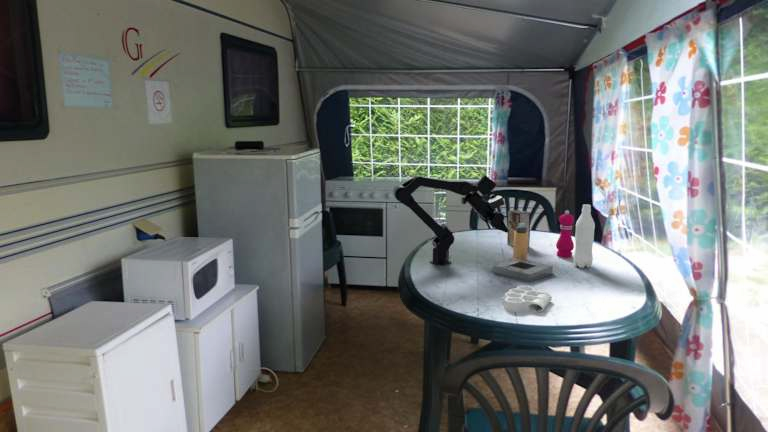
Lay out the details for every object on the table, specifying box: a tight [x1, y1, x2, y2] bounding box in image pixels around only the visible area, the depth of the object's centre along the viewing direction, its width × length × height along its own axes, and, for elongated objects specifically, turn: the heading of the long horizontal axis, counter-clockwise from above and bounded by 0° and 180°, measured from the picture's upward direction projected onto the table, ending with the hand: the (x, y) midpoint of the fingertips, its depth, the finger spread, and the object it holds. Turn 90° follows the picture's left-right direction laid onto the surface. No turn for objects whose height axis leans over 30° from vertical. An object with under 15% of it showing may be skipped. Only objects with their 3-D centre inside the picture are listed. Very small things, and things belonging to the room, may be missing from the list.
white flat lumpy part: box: [499, 285, 553, 313], centre depth 171 cm, size 3×18×15 cm
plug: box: [512, 223, 528, 260], centre depth 220 cm, size 6×6×16 cm
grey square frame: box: [492, 258, 554, 283], centre depth 203 cm, size 16×16×3 cm
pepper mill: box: [555, 209, 575, 259], centre depth 225 cm, size 7×7×20 cm
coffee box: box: [506, 209, 532, 248], centre depth 244 cm, size 9×6×16 cm
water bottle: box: [572, 203, 596, 269], centre depth 209 cm, size 7×7×25 cm
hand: (503, 229), depth 218 cm, fingers open, 9 cm apart
